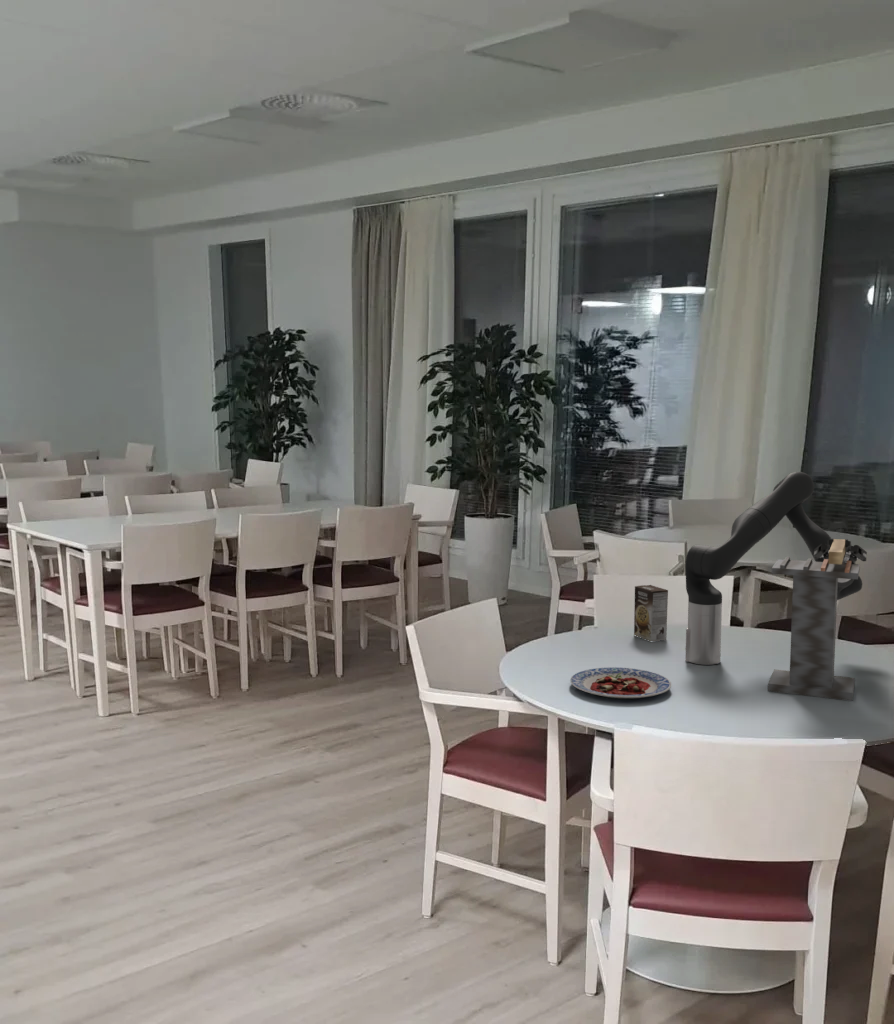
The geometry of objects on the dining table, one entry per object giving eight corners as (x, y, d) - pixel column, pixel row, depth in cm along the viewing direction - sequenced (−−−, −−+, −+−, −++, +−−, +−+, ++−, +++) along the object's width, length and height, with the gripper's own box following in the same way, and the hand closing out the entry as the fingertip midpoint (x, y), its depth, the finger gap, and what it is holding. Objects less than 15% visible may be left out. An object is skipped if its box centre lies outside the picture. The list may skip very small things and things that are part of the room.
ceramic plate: (672, 707, 232) (673, 696, 231) (566, 702, 237) (566, 690, 237) (669, 677, 257) (670, 667, 256) (573, 673, 262) (573, 662, 262)
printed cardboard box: (632, 636, 301) (633, 586, 299) (649, 633, 304) (650, 584, 302) (650, 642, 293) (651, 591, 291) (667, 640, 296) (668, 589, 294)
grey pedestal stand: (767, 690, 244) (771, 564, 240) (773, 676, 256) (778, 556, 253) (852, 700, 235) (858, 570, 232) (854, 685, 248) (860, 561, 244)
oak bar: (828, 563, 234) (828, 551, 234) (833, 550, 254) (833, 539, 254) (841, 564, 233) (842, 552, 233) (845, 550, 253) (846, 539, 252)
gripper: (814, 551, 267) (811, 527, 253) (869, 554, 261) (869, 530, 247) (812, 576, 265) (809, 553, 250) (867, 579, 259) (867, 557, 244)
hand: (839, 542), depth 249 cm, fingers closed on oak bar, 3 cm apart
